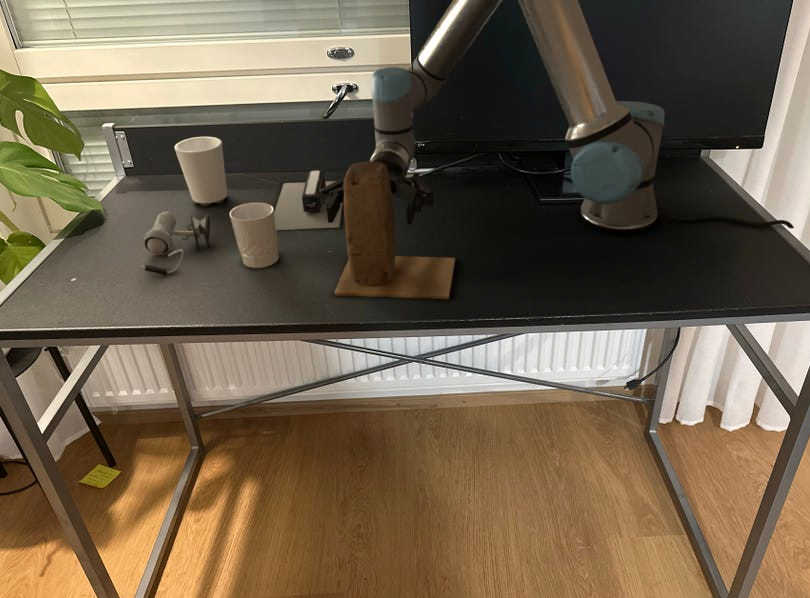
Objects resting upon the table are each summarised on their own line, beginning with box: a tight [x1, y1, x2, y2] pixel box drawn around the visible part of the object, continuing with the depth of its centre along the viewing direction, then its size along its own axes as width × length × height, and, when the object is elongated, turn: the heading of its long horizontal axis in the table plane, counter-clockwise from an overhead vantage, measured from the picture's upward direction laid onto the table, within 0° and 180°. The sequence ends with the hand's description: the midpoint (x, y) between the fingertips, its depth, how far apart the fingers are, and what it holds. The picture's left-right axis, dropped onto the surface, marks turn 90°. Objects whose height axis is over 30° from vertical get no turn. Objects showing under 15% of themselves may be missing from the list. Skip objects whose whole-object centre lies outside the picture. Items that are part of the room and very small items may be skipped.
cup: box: [174, 136, 228, 207], centre depth 153 cm, size 10×10×13 cm
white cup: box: [229, 201, 280, 269], centre depth 130 cm, size 8×8×10 cm
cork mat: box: [334, 255, 456, 300], centre depth 126 cm, size 20×14×1 cm
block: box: [343, 160, 396, 285], centre depth 120 cm, size 11×8×20 cm
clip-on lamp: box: [139, 211, 211, 276], centre depth 134 cm, size 12×6×18 cm
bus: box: [274, 169, 344, 231], centre depth 152 cm, size 14×25×4 cm, turn 3°
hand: (369, 216), depth 117 cm, fingers open, 13 cm apart
